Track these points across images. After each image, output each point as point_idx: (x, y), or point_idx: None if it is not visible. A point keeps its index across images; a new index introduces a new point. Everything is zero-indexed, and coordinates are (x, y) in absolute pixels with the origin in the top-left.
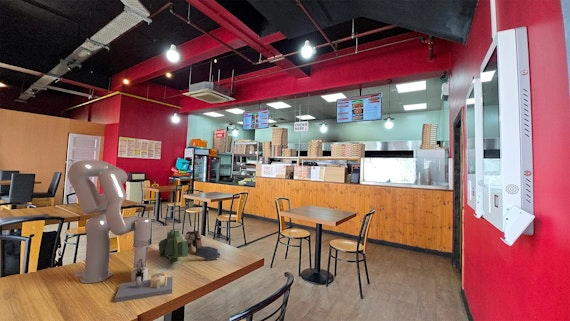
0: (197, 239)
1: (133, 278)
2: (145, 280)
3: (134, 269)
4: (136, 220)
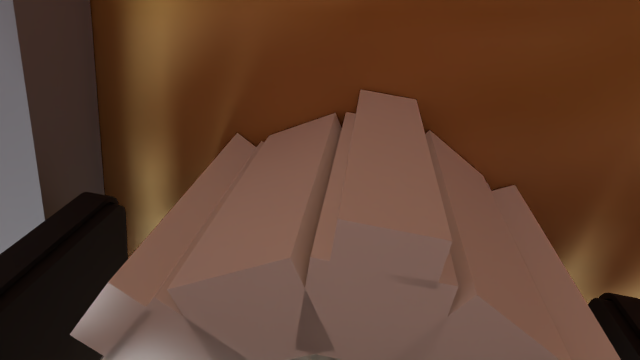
0: None
1: (262, 165)
2: None
3: (493, 331)
4: None
